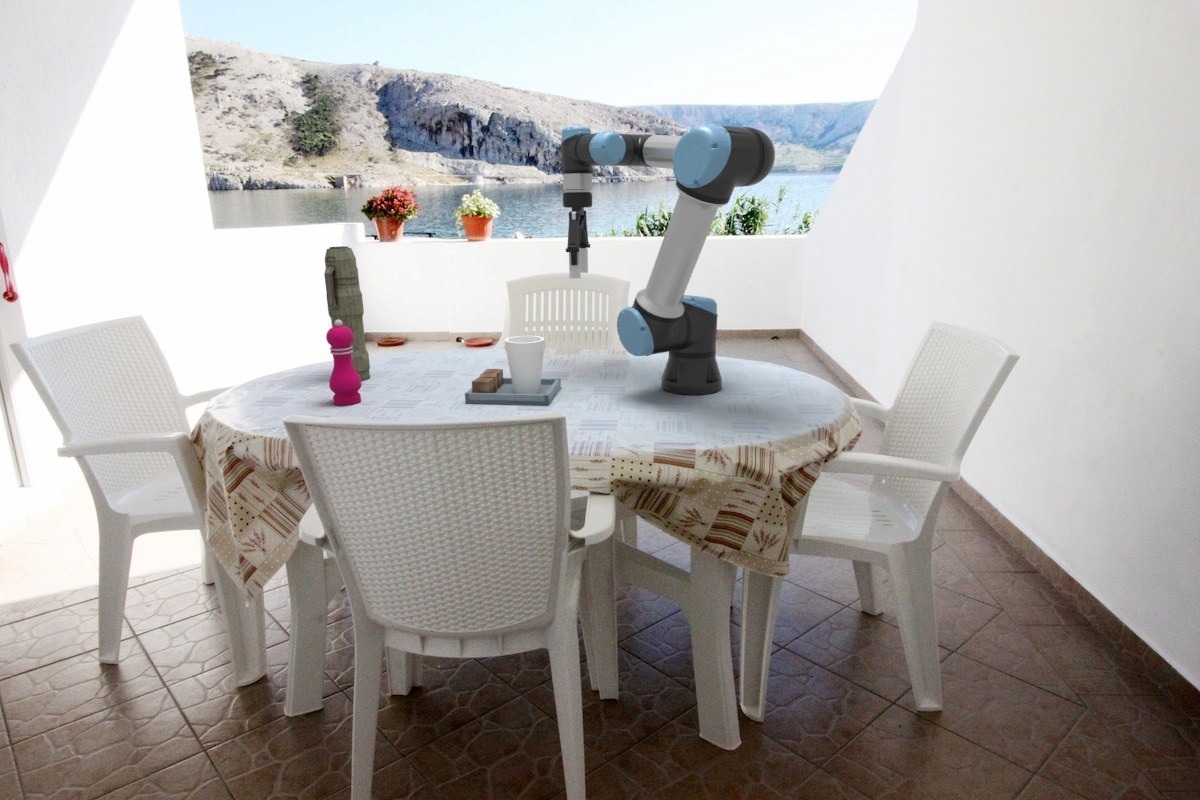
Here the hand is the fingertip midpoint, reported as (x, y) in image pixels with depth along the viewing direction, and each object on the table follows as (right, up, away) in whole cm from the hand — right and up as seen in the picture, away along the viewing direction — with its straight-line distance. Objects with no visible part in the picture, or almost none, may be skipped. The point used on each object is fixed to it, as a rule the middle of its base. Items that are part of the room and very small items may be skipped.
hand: (579, 275), depth 188 cm
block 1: (-22, -32, -17) cm, 42 cm away
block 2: (-22, -31, -12) cm, 40 cm away
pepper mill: (-55, -34, -17) cm, 67 cm away
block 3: (-21, -29, -8) cm, 37 cm away
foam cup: (-12, -31, -14) cm, 36 cm away
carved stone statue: (-61, -27, +5) cm, 67 cm away
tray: (-15, -32, -13) cm, 38 cm away
